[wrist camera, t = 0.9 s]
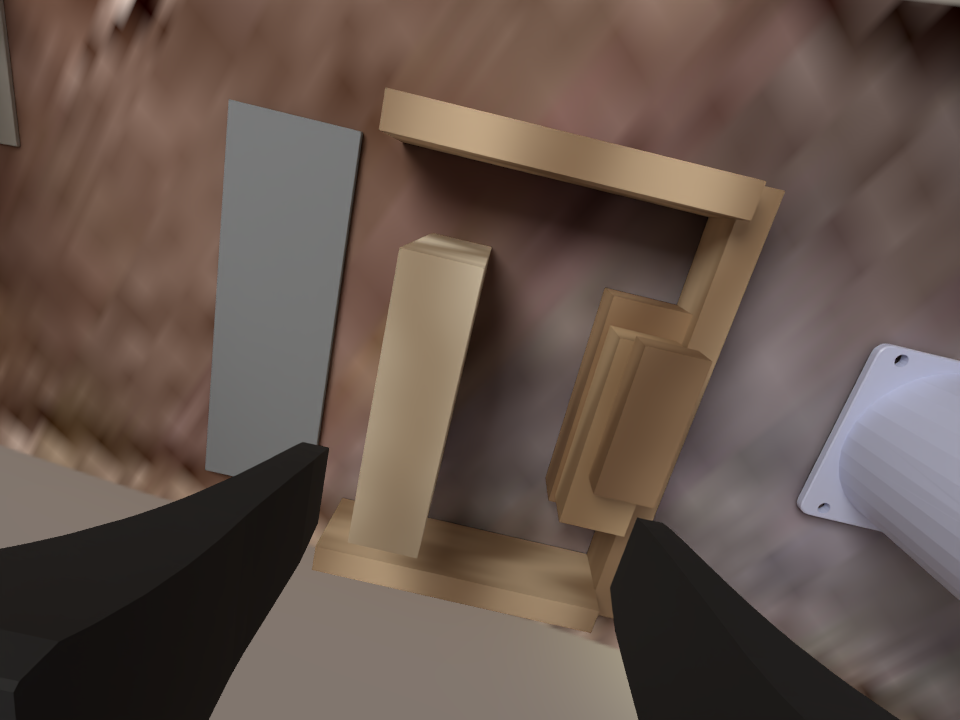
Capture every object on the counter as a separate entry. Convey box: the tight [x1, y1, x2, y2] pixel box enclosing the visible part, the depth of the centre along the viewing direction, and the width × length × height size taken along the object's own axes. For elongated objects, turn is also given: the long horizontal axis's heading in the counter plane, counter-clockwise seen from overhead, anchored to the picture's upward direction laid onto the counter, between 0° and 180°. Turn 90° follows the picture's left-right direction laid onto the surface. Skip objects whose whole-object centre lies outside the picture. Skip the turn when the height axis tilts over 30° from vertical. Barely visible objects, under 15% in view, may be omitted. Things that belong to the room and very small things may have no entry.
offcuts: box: [546, 288, 712, 537], centre depth 19 cm, size 3×9×5 cm, turn 167°
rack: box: [312, 88, 785, 633], centre depth 20 cm, size 13×18×4 cm
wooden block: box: [348, 233, 492, 558], centre depth 18 cm, size 2×10×6 cm, turn 167°
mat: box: [205, 99, 363, 476], centre depth 21 cm, size 5×16×1 cm, turn 167°
